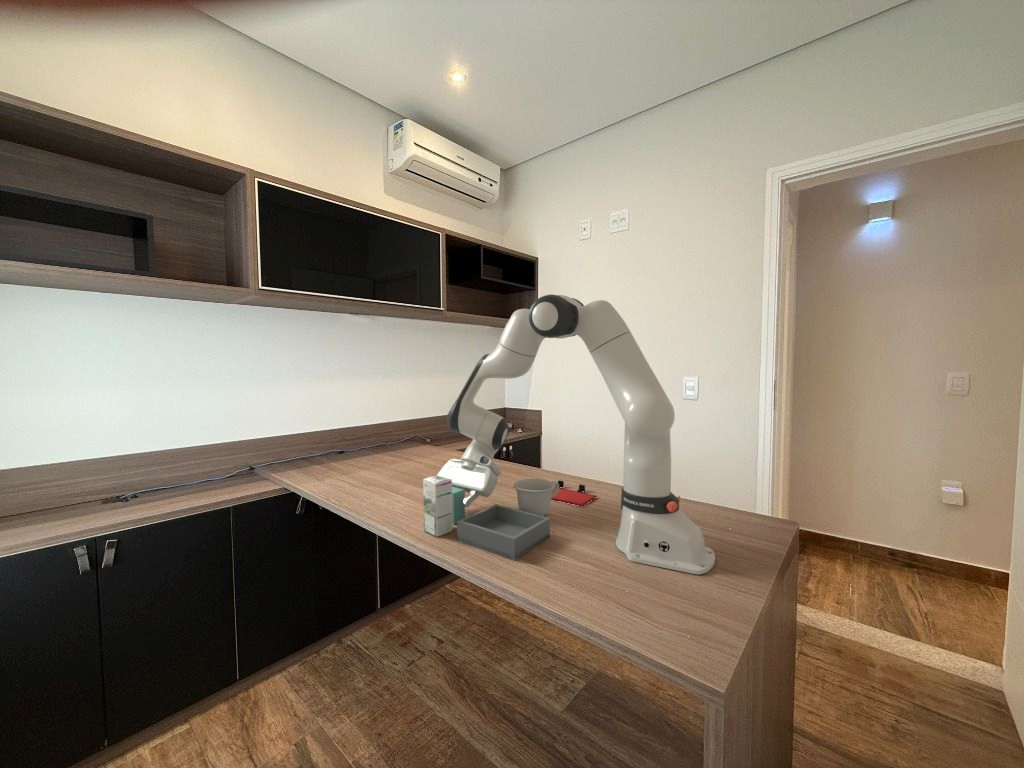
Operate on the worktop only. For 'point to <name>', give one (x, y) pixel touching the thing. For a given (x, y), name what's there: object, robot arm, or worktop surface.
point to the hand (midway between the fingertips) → (452, 502)
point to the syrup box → (437, 505)
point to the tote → (504, 530)
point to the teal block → (457, 504)
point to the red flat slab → (572, 495)
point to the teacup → (535, 495)
